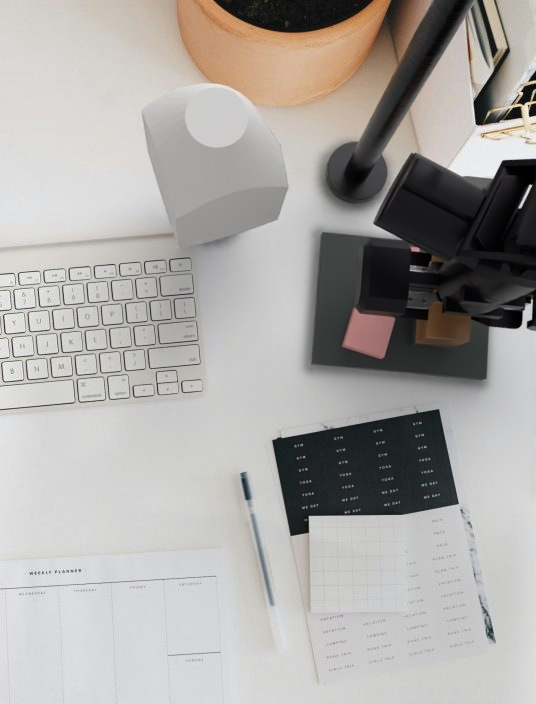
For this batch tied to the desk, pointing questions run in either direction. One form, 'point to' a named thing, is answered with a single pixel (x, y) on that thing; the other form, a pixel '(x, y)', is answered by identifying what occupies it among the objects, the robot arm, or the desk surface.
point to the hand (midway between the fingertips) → (435, 305)
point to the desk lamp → (394, 105)
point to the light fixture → (213, 162)
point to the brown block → (440, 327)
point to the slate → (400, 354)
